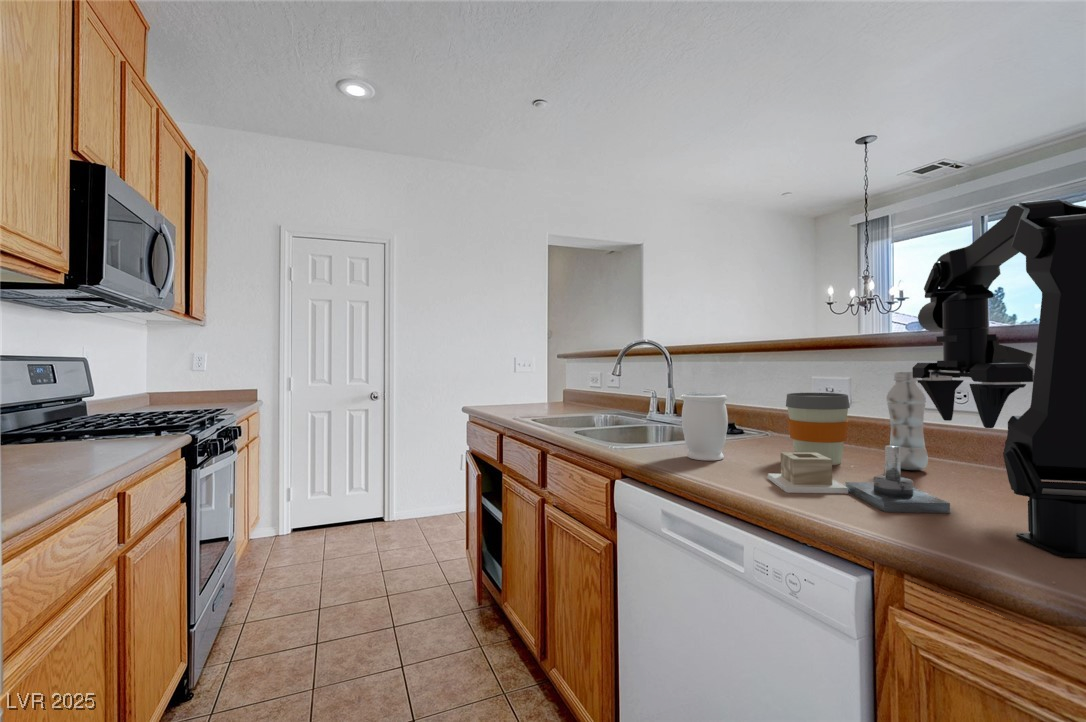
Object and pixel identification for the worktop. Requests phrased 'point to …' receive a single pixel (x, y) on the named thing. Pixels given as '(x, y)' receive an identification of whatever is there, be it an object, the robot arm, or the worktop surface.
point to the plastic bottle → (907, 421)
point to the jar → (704, 425)
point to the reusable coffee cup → (818, 423)
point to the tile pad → (806, 486)
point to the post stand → (896, 490)
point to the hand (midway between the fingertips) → (967, 424)
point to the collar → (806, 468)
